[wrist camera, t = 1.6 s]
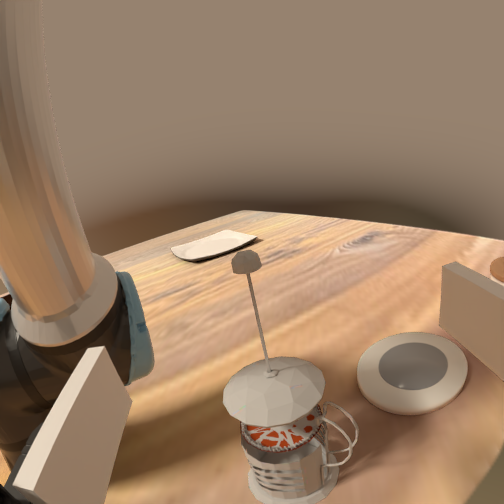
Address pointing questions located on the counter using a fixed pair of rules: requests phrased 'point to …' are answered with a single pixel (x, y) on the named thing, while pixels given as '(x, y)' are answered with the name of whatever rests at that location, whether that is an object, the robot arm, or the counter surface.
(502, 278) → the lidded jar
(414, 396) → the disc
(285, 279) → the counter surface
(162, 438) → the counter surface
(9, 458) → the robot arm
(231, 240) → the plate
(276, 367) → the french press
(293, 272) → the counter surface
